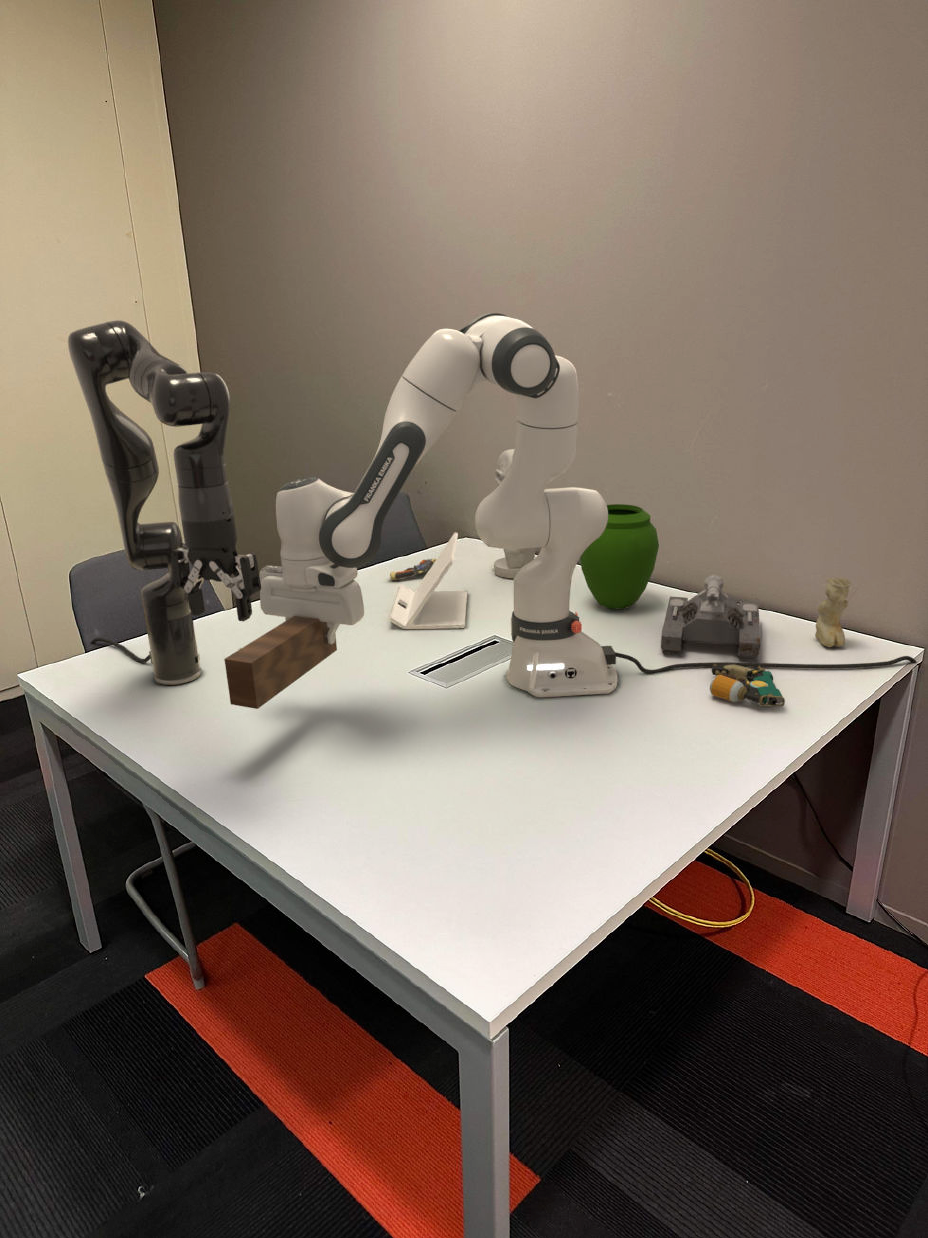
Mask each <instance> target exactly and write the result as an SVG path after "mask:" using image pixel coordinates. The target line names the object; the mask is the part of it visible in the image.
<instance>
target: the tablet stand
mask: <svg viewBox="0 0 928 1238" xmlns="http://www.w3.org/2000/svg"><path fill="white" fill-rule="evenodd" d="M458 537H459V533H458V532H456V531H455V532H453V534H452V535H451V537H450V539H449V540H448V542H447V543H446V544H445V546H444V548H443V549H442V551H441V552H440V554H439V555H438V556H437V558H435V559H436V561H435V562H434V563H433V564H432V565H431V566H430V567H429V569H428V570H427V573H426V574H425V575H424V577H423V579H422V580H421V581H420V583H419V584H418V585H417V587H416V589H415V590H412V589H410V588H409V587H407V586H406V585H403V584H400V585H399V586H398V589H397V591H396V595H395V598H394V601H393V604H392V607H391V610H390V612H389V613H390V614H389V617H388V621H389V622H391V623H392V624H394V625H396V626H398V627H399V628H401V629H402V630H426V629H427V630H429V629H430V630H431V629H435V630H436V629H437V630H438V629H464V628H465V627H466V618H467V617H466V616H467V605H468V591H467V590H436V589H437V587H438V585H440V582H441V581H442V580H443V578H444V577H445V575H446V574H447V573H448V571H449V570H450V569H451V567H452V566H453V564H454V562H455V558H456V553H457V545H458ZM399 603H400V604H399ZM402 605H403V606H405V607H403V606H402Z"/></svg>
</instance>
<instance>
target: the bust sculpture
mask: <svg viewBox="0 0 928 1238" xmlns="http://www.w3.org/2000/svg"><path fill="white" fill-rule="evenodd" d="M514 450H515V448H512V449H506V450H504V451H502V452H501V454H500V455H499V457H498V459H497V461H496V468H495V471H494V480H495V482H496V484H497V487H498V486H499V485H500V484H501V482H502V481H503V479H504V478H505V476H506V475H507V473H508V471H509V469H510V466H511V464H512V461H513V457H514ZM545 489H547V487H546V488H545ZM536 549H537V547H536V548H523V549H503V553H504V557H502V558H498V559H496V560H495V561H494V562H493V573H494V574H495V575H496V576H497V577H500V578H506V579H514V578H515V576H516V574H517V572H518V571H519V570H520V569H521V568H522V567H523V566H524V565H526V564H528V563H529V562H531V561H532V560H534V559H535V558H536V557H535V556H536Z"/></svg>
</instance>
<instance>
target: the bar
mask: <svg viewBox="0 0 928 1238" xmlns="http://www.w3.org/2000/svg"><path fill="white" fill-rule="evenodd" d="M329 629H330V628H329V627H327V622H321V621H319V619H316V618H308V617H300V616H293V617H291V618H290V619H288V620H287V621H286V620H285V621H283V622H282V623H280V624H278V625H277V626H275V627H273V628H271V630H269V631H267V632H265V633H264V634H262V635H261V636H259V637H257V638H256V639H254V640H252V641H251V642H249V643H248V644H246V645H244V646H243V647H241V648H240V649H238V650H237V651H235V652H233V653H231V654H230V655H229V656H226V657H225V658H224V660H223V661H224V666H225V673H226V680H227V688H228V694H229V703H230V705H233V706H237V707H243V708H248V709H254V710H259V709H260V708H261V707H262V706H264V705H266V704H267V703H268V702H269V701H271V700H272V699H273V698H274V697H276V696H277V695H278V694H280V693H281V692H283V691H284V690H285V689H287V688H288V687H289V686H291V685H292V684H293V683H295V682H296V681H297V680H299V679H301V678H302V677H303V676H304V675H306V674H307V673H308V672H310V671H311V670H313V668H315V667H317V666H318V665H319V664H321V663H322V662H323V661H325V660H326V659H327V658H329V657H330V656H331V655H332V654H334V653H335V652H337V651H338V647H337V645H338V644H337V635H336V633H335V639H336V640H335V642H334V643H333V644H326V643H324V636H323V635H324V634H326V633H327V632H329Z"/></svg>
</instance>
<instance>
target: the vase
mask: <svg viewBox="0 0 928 1238" xmlns="http://www.w3.org/2000/svg"><path fill="white" fill-rule="evenodd" d="M606 505H607V509H608V522H607V525H606V528H605V530H604V532H603V533H602V535H601V536H600V537H599V538H598V539H596V540H595V541H594V542H593V543H591V544H590V545H589V546H588V548H587V549H586V550H585V551H584V552H583V554H582V555H581V557H580V558H579V562H580V569H581V571H582V574H583V577H584V580H585V583H586V585H587V588H588V590H589V591H590V594H592V597H593V598H594V600H595V601H596V602H597V603H598V604H599V605H600V606H602V607H604V608H606V609H609V610H625V609H628V608H630V607H632V606H634V604H636V602H638V601H639V599H640V597H641V596H642V595H643V593H644V592H645V590H646V588H647V586H648V584H649V581H650V579H651V577H652V574H653V572H654V570H655V566H656V562H657V557H658V552H659V548H660V544H659V543H660V542H659V537H658V531H657V528H656V527H655V526H654V524H653V523H652V522H651V515H650V514H649V512H647V511H645V510H644V509H643V508H642V507H641V506H638V505H633V504H622V503H621V504H619V503H616V504H615V503H614V504H606Z"/></svg>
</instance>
